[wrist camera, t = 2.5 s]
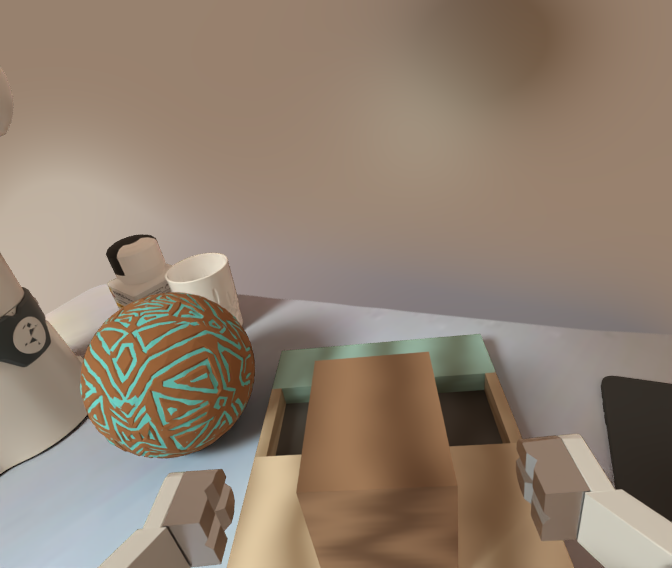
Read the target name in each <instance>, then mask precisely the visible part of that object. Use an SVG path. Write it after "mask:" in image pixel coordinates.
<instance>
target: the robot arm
mask: <svg viewBox="0 0 672 568" xmlns="http://www.w3.org/2000/svg"><path fill="white" fill-rule="evenodd" d="M12 116H13V96H12V91H11V88H10V85H9V82H8V80H7V77H6V75H5V73H4V71H3V70H2V68H1V66H0V137H1V136H3V135H5V134H6V133H7V131H8V129H9V127H10V124H11V121H12ZM83 360H84V359H83V358H82V357H81V356H76V355H75V354H74V353H73V351H72V350H71V349H70V348H69V346H68V345H67V344H66V342H65V341H64V340H63V339H62V337H61V336H60V335H59V334H58V332H57V331H56V330H55V329H54V327H53V326H52V325H51V324H50V323H49V322H48V321H46V320H45V315H44V313H43V312H42V310H41V308H40V307H39V305H38V302H37V300H36V299H35V298H34V297H33V296H32V295H31V293H30V292H29V290H28V289H26V288H24V287H21V286H20V284H19V282H18V281H17V279H16V278H15V276H14V275H13V273H12V271H11V269H10V268H9V266H8V264H7V263H6V261H5V260H4V258H3V257H2V255H1V253H0V474H1V473H2V472H4V471H5V470H7V469H9V468H10V467H12V466H14V465H16V464H18V463H20V462H23V461H25V460H27V459H29V458H31V457H33V456H35V455H37V454H39V453H40V452H42V451H44V450H45V449H47V448H49V447H50V446H52V445H53V444H55V443H56V442H58V441H59V440H60V439H62V438H63V437H64V436H66V435H67V434H68V433H69V432H70V431H72V430H73V429H74V428H75V427H76V426H77V425H78V424H79V423H80V422H81V421H82V420H83V419H84V418H85V417H86V415H87V412H86V409H85V406H84V402H83V398H82V396H81V391H80V382H81V367H82V363H83ZM516 450H517V452H518V454H519V458H518V459H517V460H516V473H517V479H518V483H519V486H520V490H521V492H522V495H523V497H524V499H525V500H526V501H528V502H529V503H530V504H531V517H532V520H533V522H534V525H535V527H536V529H537V532H538V534H539V537H540V539H541V541H557V540H578V541H577V542H578V543H579V544H581V545H582V546H583V547H584V548H585V549H586V550H587V551H588V552H589V553H590V554H591V555H592V556H593V557H594V558H595V559H596V560H597V561H598V562H600V563H601V564H602V565H603V566H604V567H605V568H672V522H670V521H669V520H667V519H666V518H664V517H663V516H661V515H660V514H658V513H657V512H655V511H654V510H652V509H651V508H649V507H648V506H646V505H645V504H643V503H642V502H640V501H639V500H637V499H636V498H634V497H633V496H631V495H630V494H628V493H627V492H625V491H624V490H622V489H618V490H615V488H614V486H613V485H612V483H611V482H610V480H609V479H608V477H607V475H606V474H605V472H604V471H603V469H602V468H601V466H600V464H599V463H598V461H597V460H596V458H595V456H594V455H593V453H592V452H591V450H590V449H589V447H588V445H587V444H586V442H585V441H584V439H583V437H582V436H580V435H579V434H569V435H559V436H556V435H554V436H545V437H536V438H527V439H518V441H517V447H516ZM225 479H226V475H225V473H224V471H223V470H222V469H216V470H201V471H186V472H175V473H169V474H168V476H167V477H166V478H165V479H164V482H163V484H162V486H161V488H160V491H159V493H158V495H157V497H156V499H155V502H154V504H153V506H152V508H151V511H150V513H149V515H148V517H147V520H146V522H145V524H144V526H143V529H137V530H136V531H135V532H134V533H133V534H132V535H131V536H130V537H129V538H128V539H127V540H126V541H125V542H124V543H123V544H122V545H121V546H120V547H119V548H117V549H116V550H115V551H114V552H113V553H112V554H111V555H110V556H109V557H108V558H107V559H106V560H105V561H104V562H103V563H102V564H101V565H100V566H99V567H98V568H190V567H199V566H209V565H218V564H221V562H222V558H223V554H224V551H225V547H226V543H227V537H226V534H225V532H224V531H225V530H226V529H227V527H228V526H229V525H230V524H231V523H232V519H233V515H234V504H235V500H234V494H233V491H232V489H231V487H230V486H228V485H227V484H225Z"/></svg>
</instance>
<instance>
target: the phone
mask: <svg viewBox="0 0 672 568" xmlns="http://www.w3.org/2000/svg"><path fill="white" fill-rule="evenodd" d="M601 391H602V398H603V409H604V412H605V415H604V416H605V423H606V425H607V432H608V439H609V446H610V453H611V460H612V467H613V473H614V480H615V487H616V490H618V489H622V490H624V491H625V492H627V493H628V494H630V495H631V496H633V497H634V498H636V499H637V500H639V501H640V502H642V503H643V504H645V505H646V506H648V507H649V508H651V509H652V510H654V511H655V512H657V513H658V514H660V515H661V516H663V517H664V518H666V519H667V520H669V521H670V522H672V384H667V383H660V382H653V381H646V380H639V379H632V378H625V377H618V376H607V377H605V378H603V380H602V383H601Z"/></svg>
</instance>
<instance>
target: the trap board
mask: <svg viewBox="0 0 672 568" xmlns="http://www.w3.org/2000/svg"><path fill="white" fill-rule="evenodd" d="M418 352H429V354H430V359H431V364H432V368H433V373H434V378H435V382H436V387H437V392H438V396H439V401H440V405H441V410H442V415H443V419H444V424H445V429H446V433H447V438H448V443H449V447H450V452H451V457H452V461H453V466H454V471H455V475H456V480H457V484H458V568H574V566H573V564H572V561H571V559H570V556H569V554H568V551H567V549H566V546H565V544H564V541H563V540H557V541H541V539H540V537H539V534H538V532H537V529H536V527H535V525H534V522H533V520H532V517H531V504H530V503H529V502H528V501H526V500H525V499H524V497H523V495H522V492H521V490H520V486H519V483H518V479H517V473H516V460H517V459H518V458H519V454H518V452H517V450H516V447H517V441H518V439H522V437H521V434H520V432H519V429H518V427H517V424H516V422H515V419H514V417H513V414H512V412H511V409H510V407H509V404H508V402H507V399H506V397H505V394H504V392H503V389H502V387H501V384H500V382H499V379H498V377H497V374H496V372H495V369H494V367H493V364H492V362H491V359H490V357H489V354H488V352H487V349H486V347H485V344H484V342H483V339H482V337H481V334H473V335H462V336H450V337H438V338H427V339H415V340H403V341H391V342H380V343H368V344H356V345H345V346H333V347H321V348H310V349H298V350H286V351H282V352H281V356H280V360H279V364H278V368H277V372H276V376H275V380H274V384H273V387H272V391H271V395H270V399H269V403H268V407H267V411H266V415H265V419H264V423H263V427H262V431H261V435H260V439H259V443H258V447H257V451H256V455H255V458H254V462H253V466H252V470H251V474H250V478H249V482H248V486H247V490H246V494H245V498H244V502H243V506H242V510H241V514H240V518H239V522H238V525H237V529H236V533H235V537H234V541H233V545H232V549H231V553H230V557H229V561H228V565H227V568H320V565H319V562H318V558H317V555H316V552H315V549H314V546H313V543H312V540H311V537H310V534H309V531H308V528H307V525H306V522H305V518H304V515H303V512H302V509H301V506H300V503H299V500H298V497H297V494H296V490H297V483H298V476H299V469H300V462H301V455H302V448H303V441H304V434H305V427H306V420H307V413H308V406H309V399H310V392H311V385H312V378H313V371H314V364H315V361H320V360H332V359H345V358H357V357H369V356H381V355H393V354H406V353H418Z"/></svg>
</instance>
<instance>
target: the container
mask: <svg viewBox="0 0 672 568" xmlns="http://www.w3.org/2000/svg"><path fill="white" fill-rule="evenodd" d="M106 255H107V257H108V260H109V262H110V264H111V266H112V268H113V270H114V272H115V275H116V277H117V278H115V279H113V280H111V281H109V282H108V283H107V285H108V287H109V289H110V291H111V293H112V295H113V297H114V299H115V301H116V303H117V305H118V307H119V309H121V308H123V307H124V306H126V305H128V304H130V303H131V302H134V301H136V300H139V299H141V298H144V297H147V296H150V295H156V294H159V293H167V292H172V291H171V289H170V287H169V285H168V282H167V280H166V278H165V274H166V272H167V271H168V269H169V268H170V267H172V265H169V264H166V263H165V260H164V257H163V255H162V252H161V250H160V247H159V245H158V242H157V240H156V238H154V237H153V236H151V235H134V236H130V237H126V238H124V239H121V240H119V241H117V242H116V243H114V244H113V245H112V246H111V247H109V249H108V250H107V253H106Z"/></svg>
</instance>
